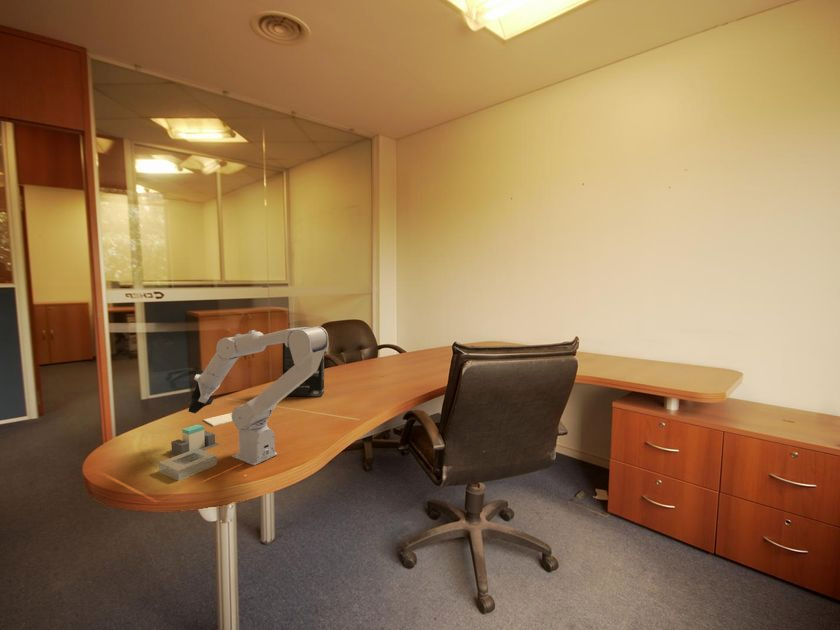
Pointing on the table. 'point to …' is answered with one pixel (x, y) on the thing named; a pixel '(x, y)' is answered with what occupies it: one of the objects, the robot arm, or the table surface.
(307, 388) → the graphics card box
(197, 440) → the plug
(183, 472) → the port
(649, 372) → the table surface
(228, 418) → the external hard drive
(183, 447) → the holster
